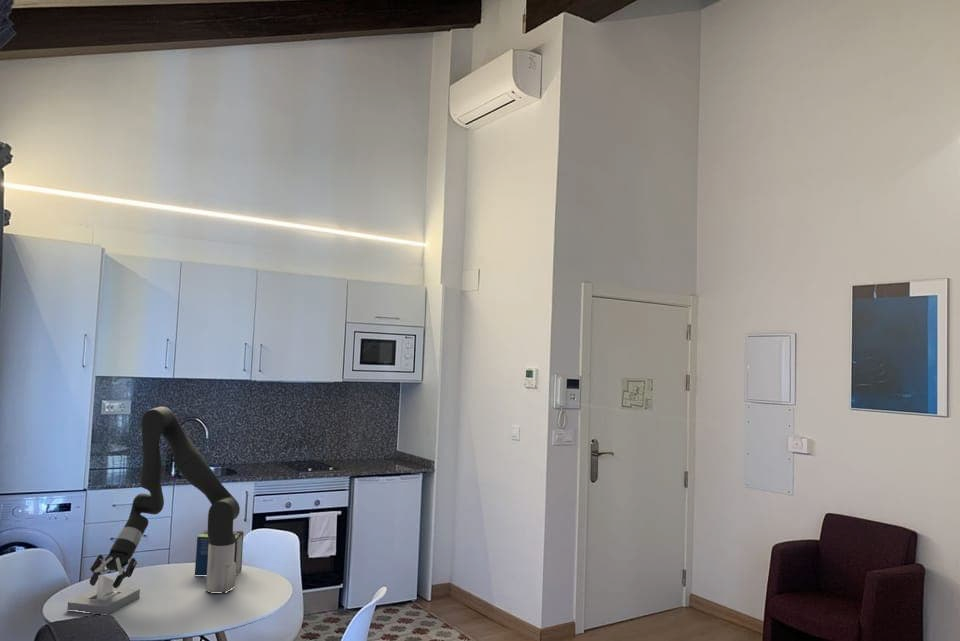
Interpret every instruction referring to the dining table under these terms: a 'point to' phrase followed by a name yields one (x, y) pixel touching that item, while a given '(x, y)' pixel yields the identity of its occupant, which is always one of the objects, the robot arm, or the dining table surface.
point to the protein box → (203, 552)
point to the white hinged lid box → (105, 588)
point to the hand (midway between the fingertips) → (103, 585)
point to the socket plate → (101, 606)
